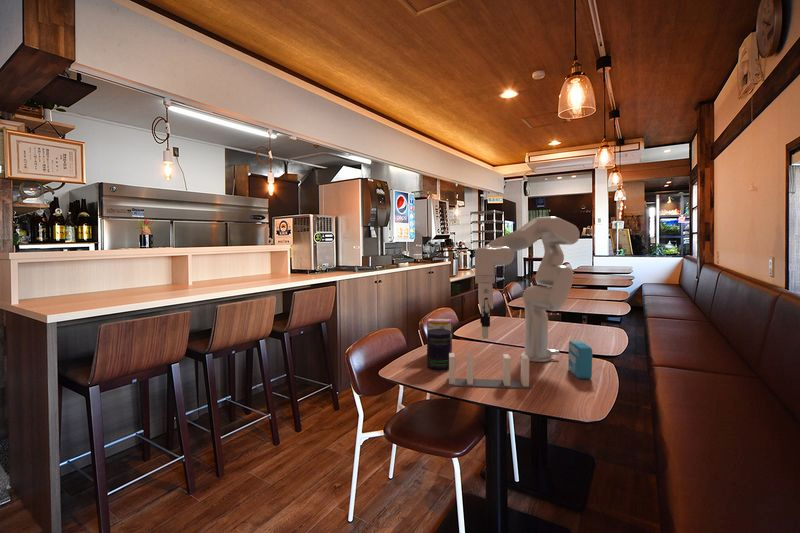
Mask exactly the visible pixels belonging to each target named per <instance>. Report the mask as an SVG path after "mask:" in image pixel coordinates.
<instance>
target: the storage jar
mask: <svg viewBox="0 0 800 533" xmlns="http://www.w3.org/2000/svg"><path fill="white" fill-rule="evenodd" d="M450 334H451V331H449V330H446V329H431V330H428V331H427V330H426V346H427V345H428V354H427V353H426V363H427V366H426V368H427V369H428V370H430V371H433V372H446V371H449V353H450V346H451V335H450Z"/></svg>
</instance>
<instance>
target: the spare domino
mask: <svg viewBox="0 0 800 533" xmlns="http://www.w3.org/2000/svg"><path fill="white" fill-rule="evenodd" d="M481 336H482V339H489V327H482V326H481Z"/></svg>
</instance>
